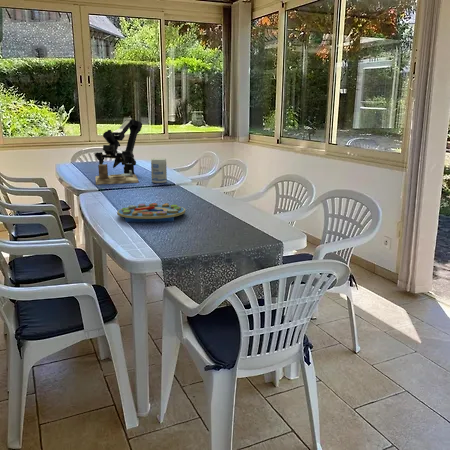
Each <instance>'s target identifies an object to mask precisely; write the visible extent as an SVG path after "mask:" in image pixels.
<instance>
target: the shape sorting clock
mask: <svg viewBox="0 0 450 450" xmlns="http://www.w3.org/2000/svg"><path fill="white" fill-rule="evenodd" d="M116 213H117V215H118V216H119V217H123V218H124V220H125V223H128V222H133V223H134V222H138V223H139V222H140V223H141V222H149V223H150V222H174V220H175V217H178V216H181V215H183V214H185V213H186V208H185V207H183V206H180V205H178V204H171V205H170V204H169V202H168V203H167V202H166V203H164V204H158V203H156V202H152V203H149V204H146V203H139V204H138V205H132V204H131V205H128V206H127V207H126V206H125V207H121V208H120V209H118V210H117V212H116Z"/></svg>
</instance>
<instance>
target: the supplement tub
mask: <svg viewBox="0 0 450 450" xmlns="http://www.w3.org/2000/svg"><path fill="white" fill-rule="evenodd" d="M150 161H151V162H150V166H151V170H150V171H151V182H152V183H155V184H162V183H163V184H164V183H167V181H168V180H167V178H168V177H167V175H168V174H167V159H166V158H164V157H156V158H155V157H154V158H151V160H150Z"/></svg>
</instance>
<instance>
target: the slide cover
mask: <svg viewBox="0 0 450 450" xmlns="http://www.w3.org/2000/svg"><path fill="white" fill-rule="evenodd" d="M120 174H121V176H133V175H134V174H132V171H131V170H129V174H125V173H120Z"/></svg>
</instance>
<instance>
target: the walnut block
mask: <svg viewBox="0 0 450 450" xmlns="http://www.w3.org/2000/svg"><path fill="white" fill-rule="evenodd" d="M97 167H98V168H97V169H98V176H99V179H108V176H109V172H108V171H109V170H108V163H107V164H105V163H103V164H100V165H99V164H98V166H97Z"/></svg>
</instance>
